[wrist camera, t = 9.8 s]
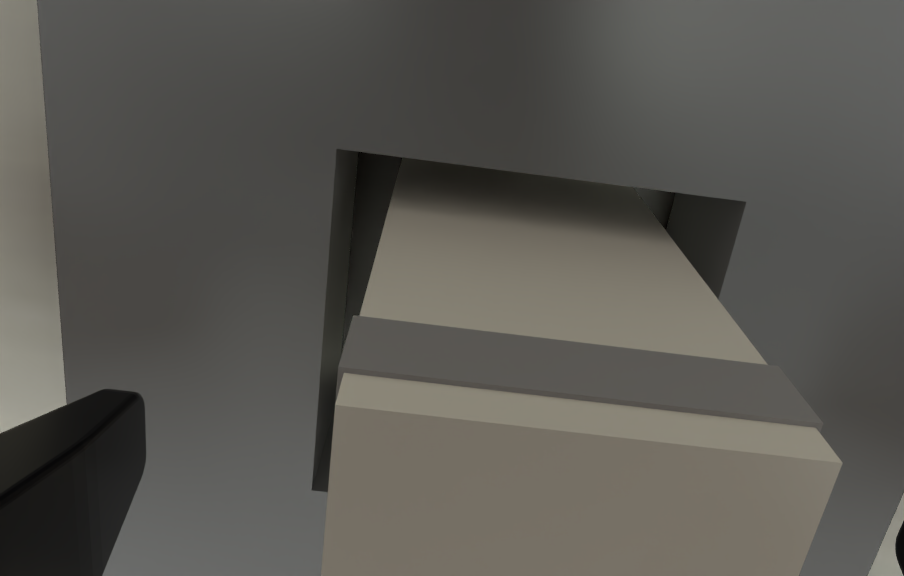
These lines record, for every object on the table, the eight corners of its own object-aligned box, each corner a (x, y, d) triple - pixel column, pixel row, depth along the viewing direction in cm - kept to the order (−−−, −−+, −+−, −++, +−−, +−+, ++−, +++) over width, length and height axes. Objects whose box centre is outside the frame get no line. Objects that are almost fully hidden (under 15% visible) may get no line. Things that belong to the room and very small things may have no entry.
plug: (635, 184, 13) (851, 458, 6) (589, 389, 15) (715, 802, 8) (399, 154, 13) (328, 398, 6) (377, 364, 15) (300, 762, 8)
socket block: (1029, -53, 12) (2120, -70, 4) (741, 697, 18) (955, 1253, 10) (126, -184, 11) (-611, -499, 4) (150, 638, 18) (-95, 1182, 10)
